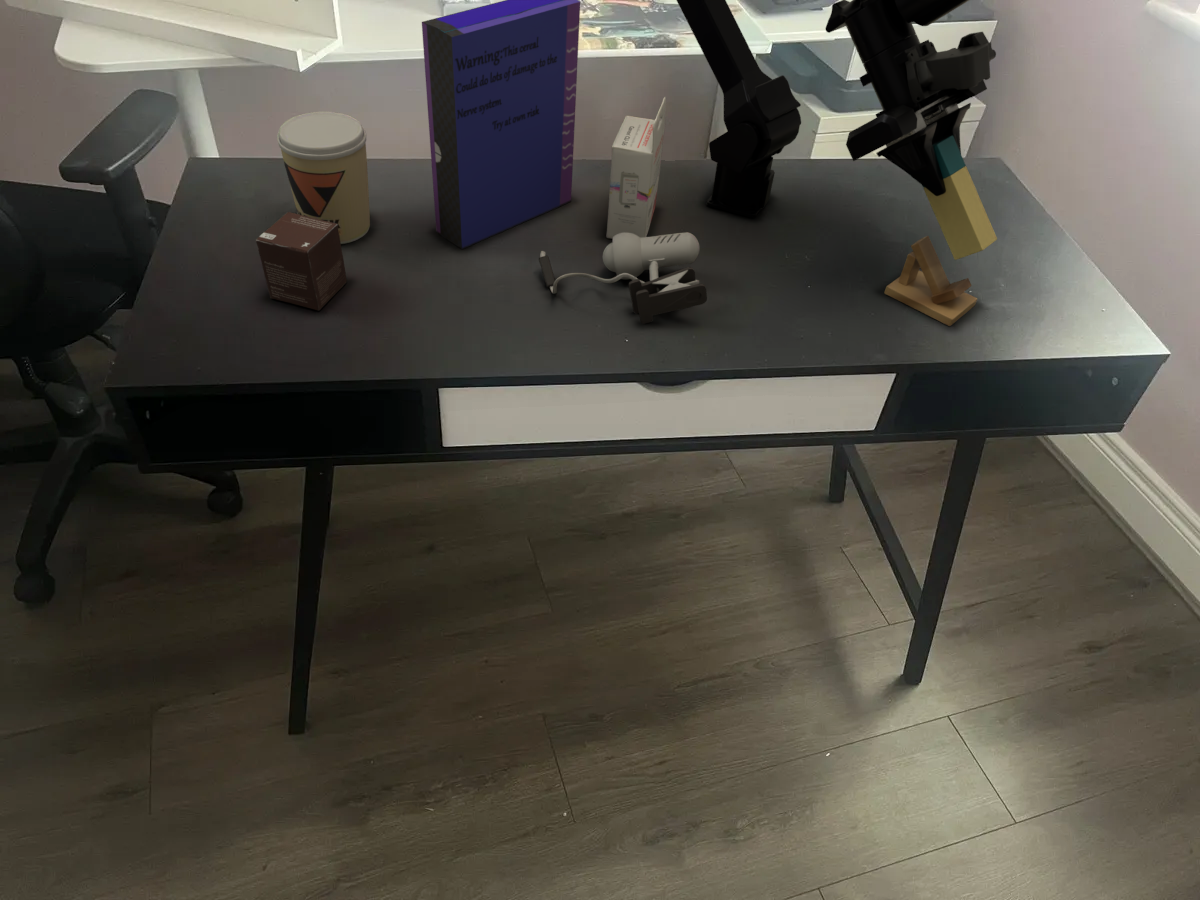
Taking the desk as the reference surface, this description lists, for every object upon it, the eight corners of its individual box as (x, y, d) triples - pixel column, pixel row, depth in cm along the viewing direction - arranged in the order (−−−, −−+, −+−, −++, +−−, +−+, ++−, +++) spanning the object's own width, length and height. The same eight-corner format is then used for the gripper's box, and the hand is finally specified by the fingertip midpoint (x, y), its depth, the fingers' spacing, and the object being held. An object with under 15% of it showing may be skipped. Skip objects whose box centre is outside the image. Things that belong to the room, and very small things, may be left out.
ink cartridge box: (617, 203, 114) (627, 88, 104) (655, 210, 114) (669, 94, 104) (603, 238, 108) (612, 119, 98) (644, 245, 108) (658, 126, 98)
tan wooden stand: (883, 293, 104) (900, 244, 99) (910, 274, 107) (927, 225, 103) (949, 326, 100) (970, 277, 95) (975, 305, 103) (995, 257, 99)
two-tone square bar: (886, 228, 102) (916, 136, 94) (902, 218, 103) (932, 127, 96) (974, 269, 97) (1013, 175, 89) (989, 258, 98) (1028, 165, 91)
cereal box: (545, 186, 116) (550, -14, 100) (571, 201, 114) (580, -1, 97) (436, 232, 107) (421, 19, 90) (462, 249, 105) (451, 34, 88)
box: (349, 283, 99) (339, 223, 94) (319, 313, 95) (307, 252, 89) (299, 270, 100) (288, 210, 95) (268, 299, 96) (254, 238, 91)
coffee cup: (278, 236, 104) (257, 136, 96) (325, 199, 111) (309, 103, 102) (348, 256, 102) (333, 156, 94) (392, 218, 109) (381, 121, 100)
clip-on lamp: (543, 339, 98) (709, 319, 96) (530, 294, 94) (704, 272, 91) (547, 270, 106) (701, 250, 104) (535, 225, 101) (696, 203, 99)
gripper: (908, 29, 82) (976, 188, 84) (1002, -12, 92) (1060, 131, 94) (815, 86, 91) (880, 228, 93) (910, 43, 101) (965, 173, 104)
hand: (949, 188), depth 96 cm, fingers closed on two-tone square bar, 3 cm apart
